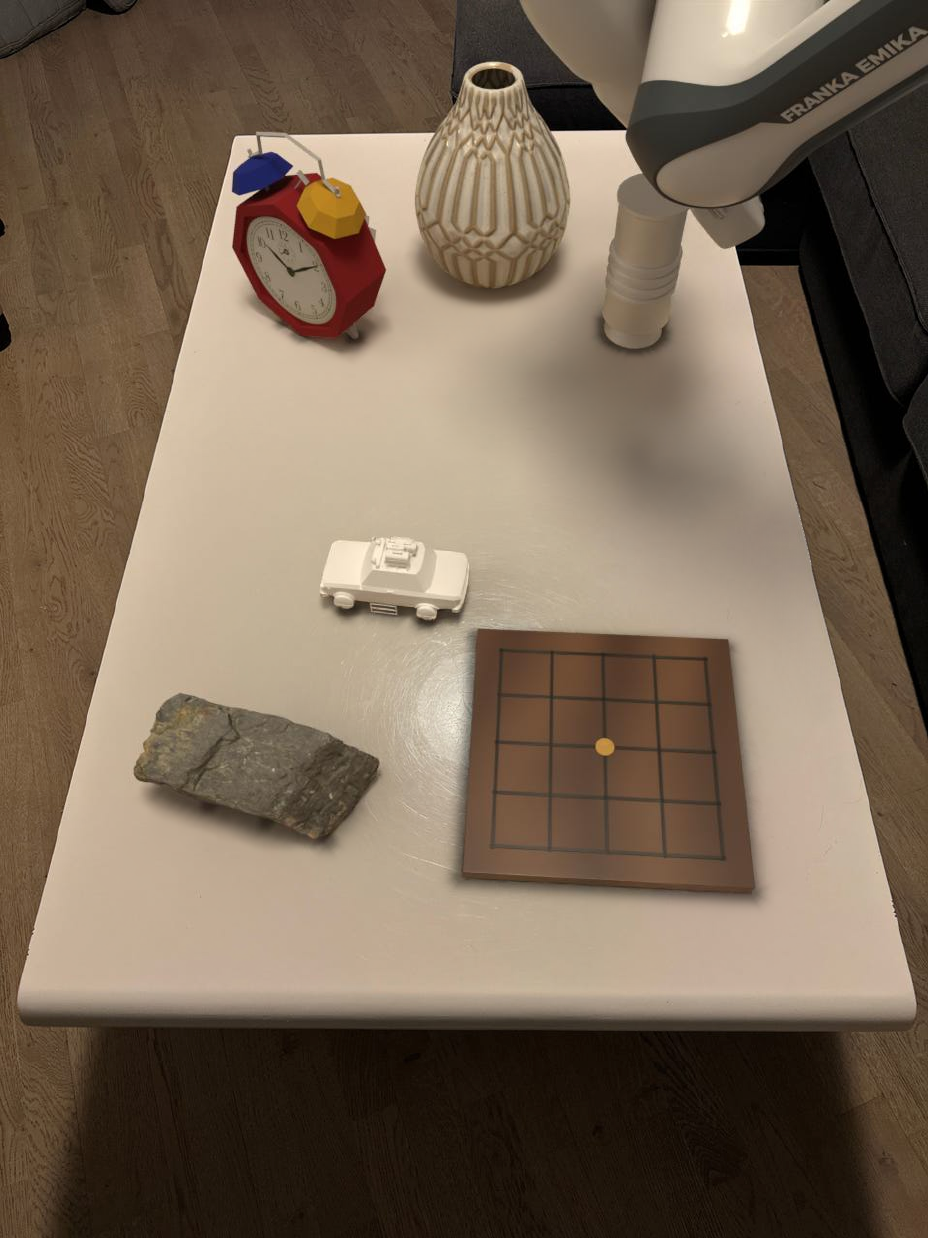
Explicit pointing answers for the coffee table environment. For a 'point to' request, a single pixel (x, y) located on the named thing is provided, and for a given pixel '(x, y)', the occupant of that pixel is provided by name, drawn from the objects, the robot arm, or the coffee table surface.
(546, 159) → the vase
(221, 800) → the rock
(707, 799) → the grid board
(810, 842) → the coffee table surface
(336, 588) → the toy car
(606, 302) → the white travel cup
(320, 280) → the alarm clock
